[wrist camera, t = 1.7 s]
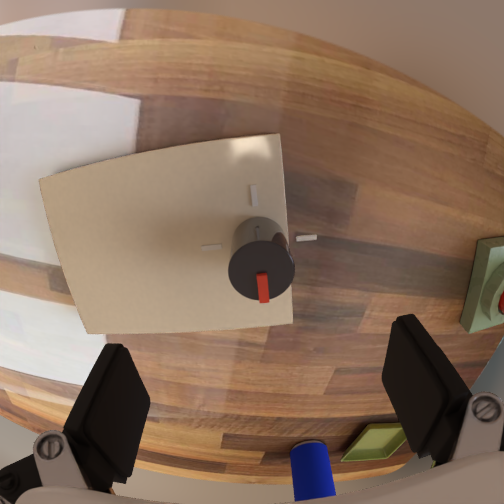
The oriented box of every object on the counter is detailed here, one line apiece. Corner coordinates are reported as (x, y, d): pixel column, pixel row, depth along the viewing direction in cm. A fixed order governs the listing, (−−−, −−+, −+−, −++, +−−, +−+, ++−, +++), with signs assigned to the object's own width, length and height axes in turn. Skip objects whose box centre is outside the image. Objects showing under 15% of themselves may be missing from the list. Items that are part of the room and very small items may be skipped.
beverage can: (281, 450, 36) (289, 544, 22) (310, 435, 34) (325, 534, 20) (305, 459, 37) (317, 545, 23) (333, 444, 36) (351, 535, 22)
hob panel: (58, 172, 21) (37, 179, 18) (302, 131, 21) (310, 131, 18) (99, 316, 27) (86, 335, 24) (310, 301, 26) (317, 322, 23)
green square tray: (336, 450, 36) (339, 462, 34) (365, 417, 33) (369, 429, 31) (384, 448, 37) (387, 458, 35) (414, 416, 34) (419, 426, 32)
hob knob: (228, 219, 20) (222, 246, 16) (283, 213, 20) (294, 239, 15) (235, 269, 21) (232, 306, 17) (287, 264, 21) (297, 300, 17)
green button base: (477, 239, 24) (502, 255, 20) (517, 234, 24) (540, 248, 20) (459, 323, 28) (476, 344, 24) (498, 311, 28) (516, 329, 24)
